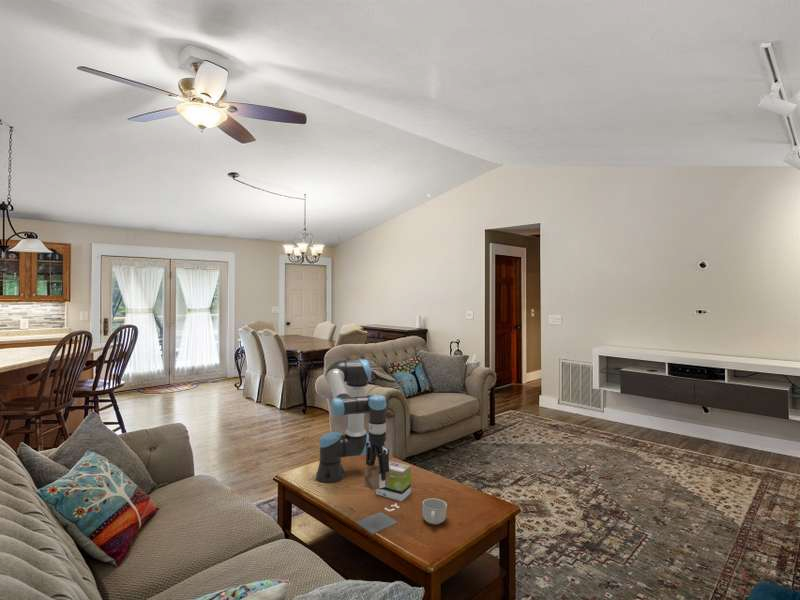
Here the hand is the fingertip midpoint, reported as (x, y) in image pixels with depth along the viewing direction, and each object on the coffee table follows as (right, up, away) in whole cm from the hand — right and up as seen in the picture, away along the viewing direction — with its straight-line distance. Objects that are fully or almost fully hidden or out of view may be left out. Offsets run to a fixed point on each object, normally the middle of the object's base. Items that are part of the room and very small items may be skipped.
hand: (377, 484), depth 190 cm
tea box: (+7, -17, +28) cm, 33 cm away
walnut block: (0, 0, 0) cm, 0 cm away
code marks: (+7, -17, +14) cm, 23 cm away
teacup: (+25, -17, +1) cm, 30 cm away
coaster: (0, -17, 0) cm, 17 cm away
